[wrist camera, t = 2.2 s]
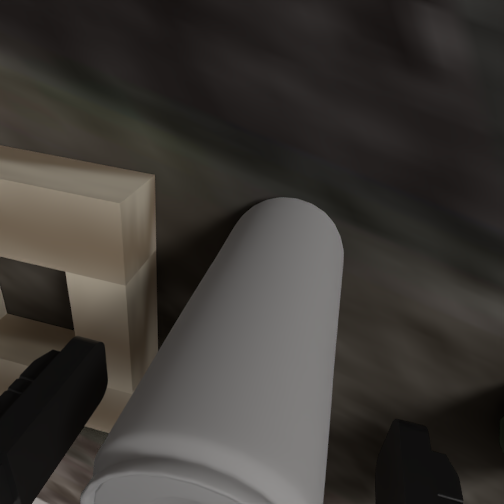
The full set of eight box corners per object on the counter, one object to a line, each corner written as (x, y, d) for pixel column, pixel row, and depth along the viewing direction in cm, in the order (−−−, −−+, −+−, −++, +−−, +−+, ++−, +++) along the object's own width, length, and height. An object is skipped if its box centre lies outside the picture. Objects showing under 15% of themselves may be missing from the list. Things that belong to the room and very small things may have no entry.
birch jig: (-90, 128, 20) (-157, 146, 17) (154, 174, 18) (120, 203, 15) (-20, 348, 27) (-59, 384, 24) (159, 396, 25) (135, 440, 23)
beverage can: (227, 276, 20) (81, 565, 10) (240, 179, 17) (58, 434, 7) (330, 302, 19) (290, 638, 9) (359, 205, 17) (346, 525, 6)
